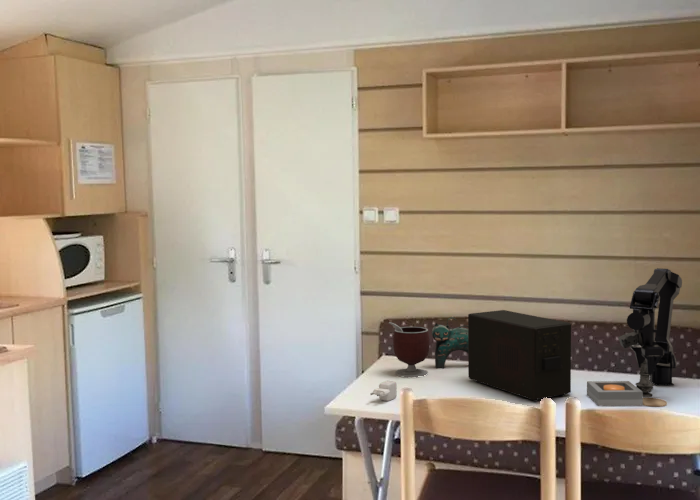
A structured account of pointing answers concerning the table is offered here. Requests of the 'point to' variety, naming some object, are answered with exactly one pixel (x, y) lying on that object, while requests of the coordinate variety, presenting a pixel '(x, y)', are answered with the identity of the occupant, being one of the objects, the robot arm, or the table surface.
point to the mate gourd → (411, 348)
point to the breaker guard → (614, 394)
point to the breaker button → (613, 387)
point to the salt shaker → (644, 381)
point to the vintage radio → (520, 353)
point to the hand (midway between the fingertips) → (644, 371)
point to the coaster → (654, 402)
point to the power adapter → (386, 390)
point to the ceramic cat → (448, 342)
